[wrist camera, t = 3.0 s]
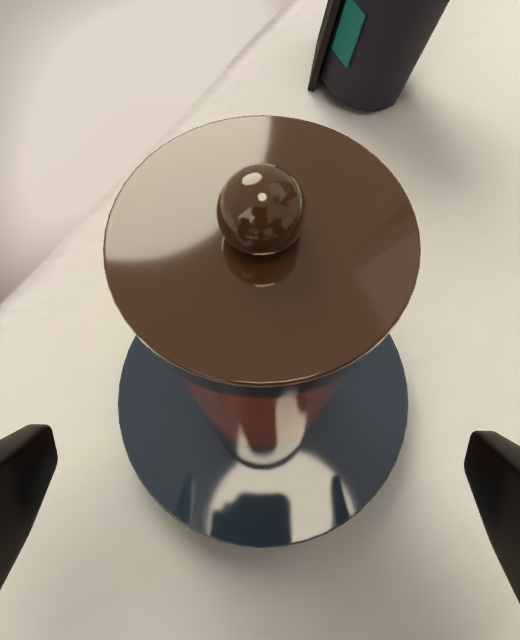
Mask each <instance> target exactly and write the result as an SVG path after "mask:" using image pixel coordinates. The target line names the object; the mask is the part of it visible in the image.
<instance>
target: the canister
mask: <svg viewBox="0 0 520 640" xmlns="http://www.w3.org/2000/svg"><path fill="white" fill-rule="evenodd" d="M420 254H421V248H420V236H419V229H418V225H417V221H416V217H415V213H414V211H413V208H412V206H411V203H410V201H409V198H408V197H407V195H406V193H405V191H404V190H403V188H402V186H401V184H400V183H399V182H398V180H397V179H396V178H395V176H394V175H393V174H392V172H391V171H390V170H389V169H388V168H387V167H386V166H385V165H384V164H383V163H382V162H381V161H380V160H379V159H378V158H377V157H376V156H375V155H374V154H372V153H371V152H370V151H369V150H367V149H366V148H365V147H364V146H362V145H360V144H359V143H357V142H356V141H354V140H352V139H351V138H349V137H347V136H345V135H343V134H341V133H339V132H337V131H335V130H333V129H330V128H327V127H325V126H322V125H319V124H316V123H313V122H309V121H305V120H301V119H295V118H289V117H282V116H264V115H261V116H243V117H236V118H230V119H224V120H220V121H216V122H212V123H209V124H206V125H203V126H200V127H197V128H195V129H192V130H190V131H188V132H186V133H184V134H182V135H180V136H177V137H176V138H174V139H172V140H171V141H169V142H168V143H166V144H164V145H163V146H161V147H160V148H159V149H157V150H156V151H155V152H154V153H152V154H151V155H150V156H148V157H147V158H146V159H145V160H144V161H143V162H142V163H141V164H140V165H139V166H138V167H137V168H136V169H135V171H134V172H133V173H132V174H131V176H130V177H129V178H128V180H127V181H126V182H125V183H124V185H123V187H122V189H121V190H120V192H119V194H118V195H117V197H116V199H115V202H114V204H113V206H112V209H111V211H110V214H109V217H108V221H107V225H106V229H105V236H104V247H103V256H104V269H105V274H106V278H107V283H108V287H109V289H110V292H111V295H112V297H113V300H114V302H115V304H116V306H117V308H118V310H119V311H120V313H121V315H122V317H123V318H124V320H125V321H126V323H127V324H128V325H129V326H130V328H131V329H132V330H133V332H134V333H135V334H136V335H137V337H138V338H139V339H140V340H141V342H142V343H143V344H144V345H145V347H146V348H147V349H148V350H149V352H150V353H151V354H152V355H153V356H155V357H156V358H157V359H158V360H159V361H160V362H161V363H162V364H163V365H164V366H166V367H167V368H169V369H170V370H171V371H173V372H174V373H176V374H177V375H178V376H179V378H180V379H181V381H182V382H183V384H184V385H185V386H186V388H187V389H188V391H189V392H190V393H191V395H192V396H193V398H194V399H195V401H196V402H197V403H198V405H199V406H200V408H201V409H202V411H203V412H204V413H205V415H206V416H207V418H208V419H209V421H210V422H211V423H212V425H213V426H214V427H215V428H216V430H218V431H219V432H220V433H221V434H222V435H223V436H224V437H226V438H227V439H228V440H230V441H232V442H234V443H236V444H238V445H241V446H243V447H247V448H251V449H260V450H265V449H274V448H279V447H282V446H285V445H288V444H290V443H292V442H294V441H296V440H297V439H298V438H300V437H301V436H303V435H304V434H305V433H306V432H307V431H308V430H309V429H310V428H311V426H312V425H313V424H314V423H315V421H316V420H317V418H318V417H319V415H320V414H321V412H322V411H323V409H324V408H325V407H326V405H327V404H328V402H329V401H330V399H331V398H332V396H333V395H334V393H335V392H336V390H337V389H338V387H339V386H340V385H341V383H342V382H343V380H344V379H345V377H346V376H347V374H348V373H349V372H351V371H352V370H354V369H355V368H356V367H358V366H359V365H360V364H361V363H362V362H364V361H365V360H366V359H367V358H368V357H369V356H370V355H371V354H372V353H373V352H374V351H375V350H376V349H377V347H378V346H379V345H380V344H381V343H382V341H383V340H384V339H385V338H386V336H387V335H388V334H389V332H390V331H391V330H392V328H393V327H394V326H395V325H396V323H397V322H398V320H399V319H400V317H401V315H402V314H403V312H404V310H405V309H406V307H407V305H408V303H409V301H410V298H411V296H412V294H413V291H414V289H415V286H416V281H417V277H418V273H419V268H420Z"/></svg>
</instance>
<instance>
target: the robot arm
mask: <svg viewBox="0 0 520 640" xmlns="http://www.w3.org/2000/svg"><path fill="white" fill-rule="evenodd" d="M57 460H58V456H57V450H56V446H55V441H54V437H53V432H52V429H51V427H50V426H48V425H42V424H31V425H27V426H25V427H23V428H21V429H20V430H18V431H16V432H14V433H12V434H10V435H8V436H6V437H5V438H3V439H1V440H0V589H1V588H2V586H3V584H4V582H5V580H6V578H7V576H8V574H9V572H10V570H11V568H12V566H13V565H14V563H15V561H16V559H17V557H18V555H19V553H20V551H21V549H22V547H23V545H24V543H25V541H26V539H27V537H28V535H29V533H30V531H31V528H32V526H33V524H34V521H35V519H36V516H37V514H38V511H39V509H40V506H41V504H42V501H43V499H44V496H45V494H46V491H47V489H48V486H49V484H50V481H51V479H52V476H53V474H54V471H55V469H56V466H57ZM464 469H465V474H466V477H467V479H468V482H469V485H470V488H471V490H472V493H473V496H474V499H475V502H476V504H477V507H478V510H479V513H480V516H481V518H482V521H483V524H484V527H485V529H486V532H487V535H488V537H489V540H490V542H491V544H492V547H493V549H494V551H495V553H496V555H497V558H498V560H499V562H500V564H501V566H502V568H503V570H504V572H505V574H506V576H507V578H508V580H509V583H510V585H511V587H512V589H513V591H514V593H515V595H516V597H517V599H518V601H519V603H520V446H519V445H517V444H515V443H513V442H512V441H510V440H508V439H506V438H505V437H503V436H501V435H500V434H498V433H496V432H494V431H474V432H473V433H472V434H471V436H470V440H469V444H468V448H467V452H466V456H465V461H464Z"/></svg>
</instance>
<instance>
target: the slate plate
mask: <svg viewBox="0 0 520 640" xmlns="http://www.w3.org/2000/svg"><path fill="white" fill-rule="evenodd" d="M118 411H119V424H120V429H121V434H122V439H123V443H124V446H125V449H126V452H127V454H128V457H129V460H130V462H131V464H132V466H133V468H134V470H135V472H136V474H137V476H138V478H139V479H140V481H141V482H142V484H143V485H144V486H145V488H146V489H147V491H148V492H149V493H150V495H151V496H152V497H153V498H154V499H155V500H156V501H157V502H158V503H159V504H160V505H161V506H162V507H163V509H164V510H166V511H167V512H168V513H169V514H171V515H172V516H173V517H174V518H176V519H177V520H178V521H179V522H181V523H182V524H184V525H186V526H188V527H189V528H191V529H193V530H194V531H196V532H198V533H200V534H202V535H205V536H207V537H210V538H212V539H215V540H217V541H220V542H225V543H229V544H233V545H237V546H244V547H256V548H269V547H284V546H288V545H293V544H298V543H302V542H306V541H309V540H311V539H314V538H317V537H319V536H322V535H325V534H326V533H328V532H330V531H332V530H334V529H335V528H337V527H339V526H341V525H343V524H344V523H345V522H347V521H348V520H349V519H351V518H352V517H353V516H355V515H356V514H357V513H358V512H360V511H361V510H362V509H363V508H364V507H365V506H366V505H367V504H368V503H369V502H370V501H371V499H372V498H373V497H374V496H375V495H376V494H377V492H378V491H379V490H380V488H381V487H382V485H383V484H384V483H385V481H386V480H387V478H388V476H389V474H390V472H391V470H392V469H393V467H394V465H395V463H396V461H397V458H398V455H399V452H400V449H401V447H402V444H403V440H404V435H405V430H406V425H407V414H408V395H407V384H406V379H405V374H404V368H403V365H402V362H401V359H400V356H399V353H398V350H397V348H396V346H395V344H394V342H393V340H392V338H391V336H390V334H388V335H387V336H386V338H385V339H384V340H383V341H382V343H381V344H380V345H379V346H378V347H377V349H376V350H375V351H374V352H373V353H372V354H371V355H370V356H369V357H368V358H367V359H366V360H365V361H364V362H362V363H361V364H360V365H359V366H358V367H356V368H355V369H354V370H352V371H351V372H349V373H348V374H347V376H346V377H345V379H344V380H343V382H342V383H341V385H340V386H339V387H338V389H337V390H336V392H335V393H334V395H333V396H332V398H331V399H330V401H329V402H328V404H327V405H326V407H325V408H324V409H323V411H322V412H321V414H320V415H319V417H318V418H317V420H316V421H315V423H314V424H313V425H312V426H311V428H310V429H309V430H308V431H307V432H306V433H305V434H304V435H303V436H301V437H300V438H298V439H297V440H296V441H294V442H292V443H290V444H288V445H285V446H282V447H279V448H274V449H265V450H260V449H251V448H247V447H243V446H241V445H238V444H236V443H234V442H232V441H230V440H228V439H227V438H226V437H224V436H223V435H222V434H221V433H220V432H219V431H218V430H216V428H215V427H214V426H213V425H212V423H211V422H210V421H209V419H208V418H207V416H206V415H205V413H204V412H203V411H202V409H201V408H200V406H199V405H198V403H197V402H196V401H195V399H194V398H193V396H192V395H191V393H190V392H189V391H188V389H187V388H186V386H185V385H184V384H183V382H182V381H181V379H180V378H179V376H178V375H177V374H176V373H174V372H173V371H171V370H170V369H169V368H167V367H166V366H164V365H163V364H162V363H161V362H160V361H159V360H158V359H157V358H156V357H155V356H153V355H152V354H151V353H150V352H149V350H148V349H147V348H146V347H145V345H144V344H143V343H142V342H141V340H140V339H139V338H138V337H137V335H136V336H135V338H134V340H133V342H132V344H131V346H130V348H129V351H128V354H127V357H126V359H125V362H124V365H123V369H122V374H121V379H120V384H119V397H118Z"/></svg>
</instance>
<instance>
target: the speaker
mask: <svg viewBox="0 0 520 640" xmlns="http://www.w3.org/2000/svg"><path fill="white" fill-rule="evenodd" d="M448 2H449V0H328V3H327V6H326V10H325V14H324V17H323V21H322V25H321V28H320V32H319V36H318V40H317V45H316V50H315V55H314V60H313V66H312V71H311V76H310V81H309V86H308V90H310V91H313V92H314V88H315V85H316V82H317V78H318V75H319V72H320V77H321V78H322V80H323V81H324V83H325V85H326V86H327V88H328V89H329V91H330V92H331V94H332V95H333V96H334V97H336V98H338V99H340V100H342V101H344V102H346V103H347V104H349V105H351V106H353V107H355V108H357V109H363V110H369V111H372V110H376V109H380V108H383V107H387V106H391V105H394V103H395V101H396V100H397V98H398V96H399V95H400V93H401V91H402V90H403V88H404V86H405V84H406V82H407V80H408V78H409V76H410V74H411V72H412V71H413V69H414V67H415V65H416V63H417V61H418V59H419V57H420V55H421V54H422V52H423V50H424V48H425V46H426V44H427V42H428V40H429V38H430V36H431V35H432V33H433V31H434V29H435V27H436V25H437V23H438V21H439V19H440V18H441V16H442V14H443V12H444V10H445V8H446V6H447V4H448Z"/></svg>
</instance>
